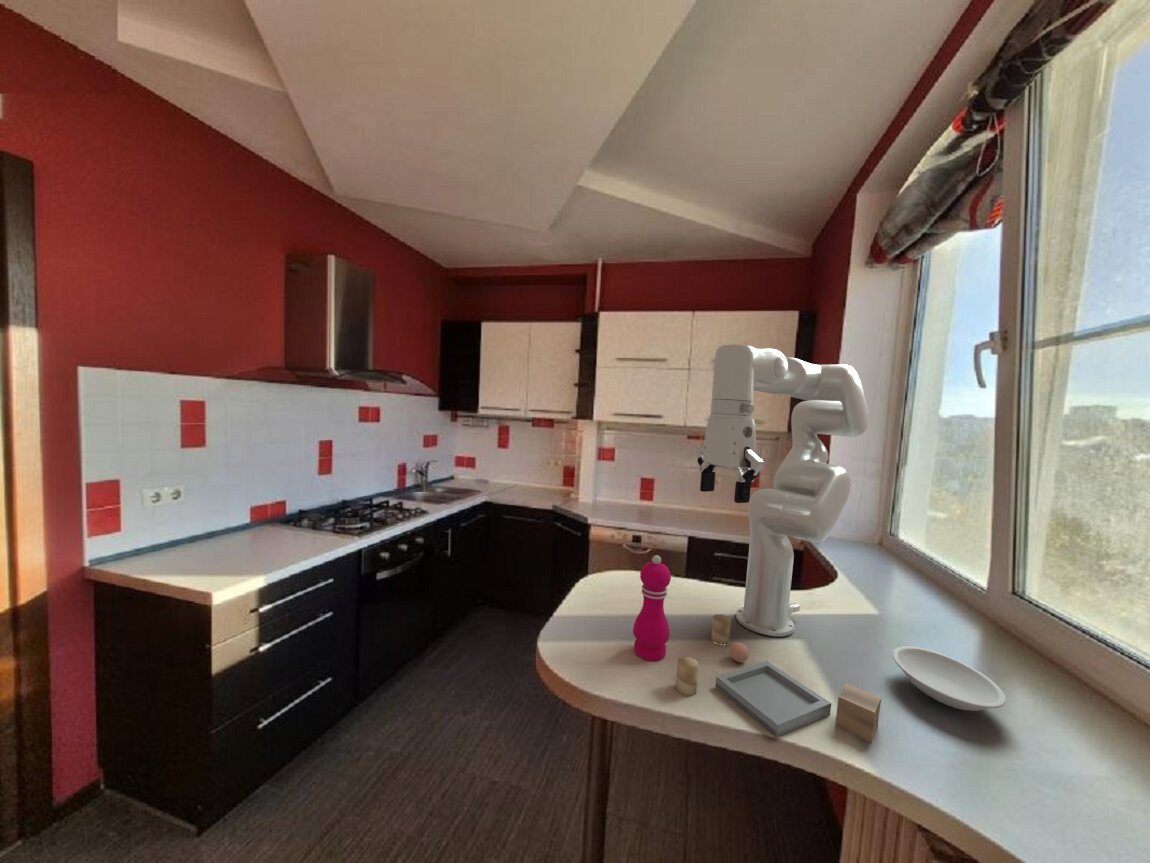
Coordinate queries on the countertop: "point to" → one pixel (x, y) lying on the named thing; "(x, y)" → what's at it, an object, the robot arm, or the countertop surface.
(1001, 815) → the countertop surface
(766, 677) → the tray
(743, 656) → the ball
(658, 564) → the pepper mill
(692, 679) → the cork
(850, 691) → the walnut block
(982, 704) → the dish
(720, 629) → the cork
